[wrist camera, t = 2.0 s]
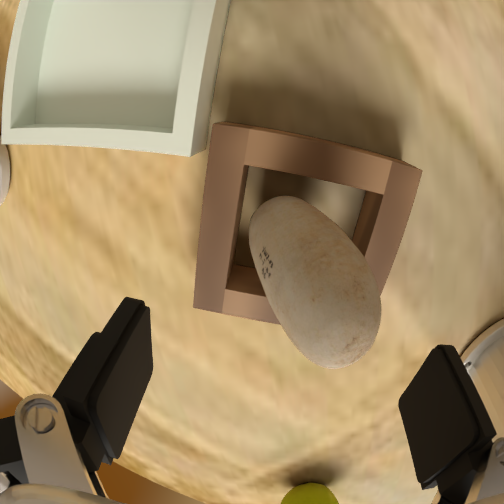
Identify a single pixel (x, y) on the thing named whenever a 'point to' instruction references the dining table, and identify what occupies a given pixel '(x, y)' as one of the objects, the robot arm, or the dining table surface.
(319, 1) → the dining table surface
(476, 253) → the dining table surface
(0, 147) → the cup
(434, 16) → the dining table surface
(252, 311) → the pocket frame
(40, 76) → the tray
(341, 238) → the stone
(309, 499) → the fruit
